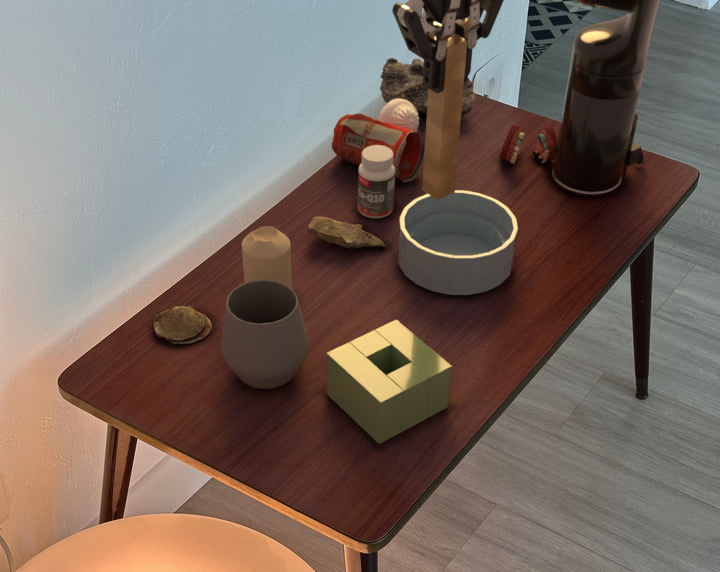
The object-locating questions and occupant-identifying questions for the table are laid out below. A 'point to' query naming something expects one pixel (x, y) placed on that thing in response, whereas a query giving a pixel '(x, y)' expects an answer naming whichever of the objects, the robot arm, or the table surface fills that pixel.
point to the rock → (415, 85)
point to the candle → (267, 256)
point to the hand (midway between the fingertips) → (446, 84)
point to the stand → (388, 380)
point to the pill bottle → (376, 182)
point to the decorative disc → (181, 325)
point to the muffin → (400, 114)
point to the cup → (264, 333)
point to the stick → (445, 123)
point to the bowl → (457, 242)
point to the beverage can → (379, 143)
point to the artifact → (342, 233)
